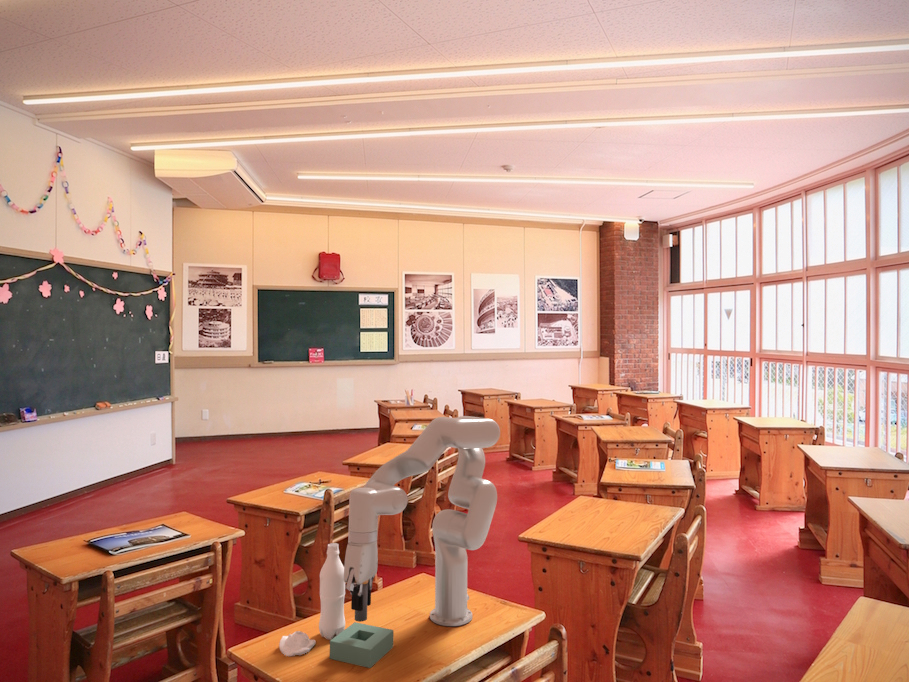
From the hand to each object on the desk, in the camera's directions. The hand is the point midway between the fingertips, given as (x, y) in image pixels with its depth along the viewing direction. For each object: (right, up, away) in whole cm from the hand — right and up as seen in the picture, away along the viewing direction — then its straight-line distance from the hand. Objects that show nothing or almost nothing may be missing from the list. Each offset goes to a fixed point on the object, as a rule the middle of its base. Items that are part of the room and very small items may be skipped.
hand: (361, 606), depth 160 cm
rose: (-17, -13, +3) cm, 22 cm away
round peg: (0, -3, 0) cm, 3 cm away
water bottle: (-10, -13, +10) cm, 19 cm away
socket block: (0, -12, 0) cm, 12 cm away
